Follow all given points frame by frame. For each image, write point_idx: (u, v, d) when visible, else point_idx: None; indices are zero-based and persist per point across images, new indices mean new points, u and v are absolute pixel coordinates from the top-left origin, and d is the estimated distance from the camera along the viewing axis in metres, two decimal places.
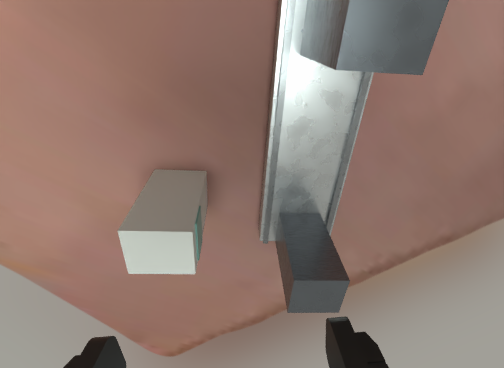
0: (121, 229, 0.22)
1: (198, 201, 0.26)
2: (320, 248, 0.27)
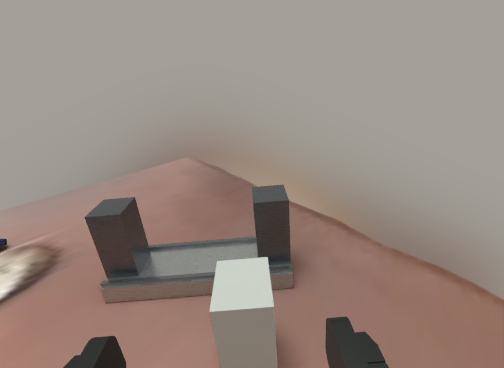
0: (210, 311, 0.21)
1: None
2: None
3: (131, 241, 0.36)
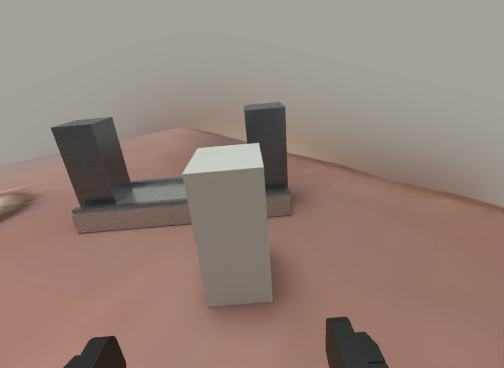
0: None
1: None
2: None
3: (106, 161, 0.32)
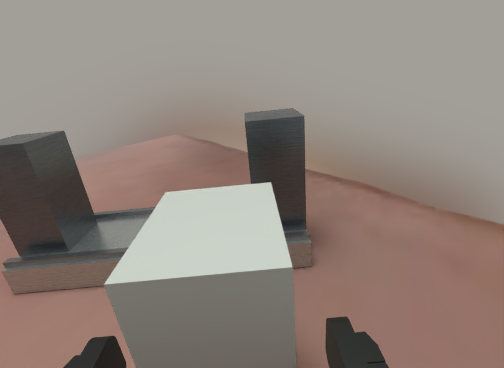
0: None
1: None
2: None
3: (51, 194, 0.23)
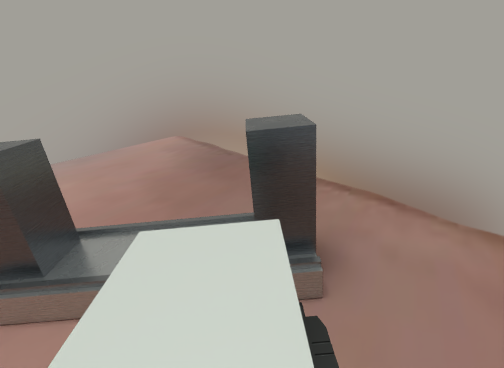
0: None
1: None
2: None
3: (22, 212, 0.20)
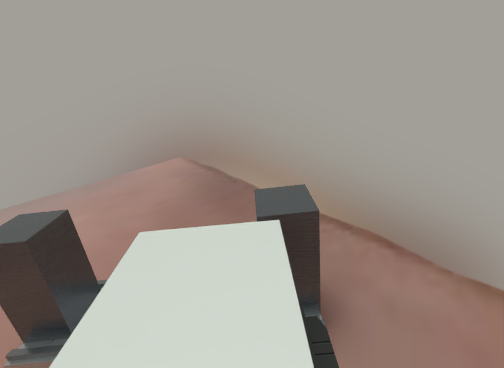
0: None
1: None
2: None
3: (55, 283, 0.22)
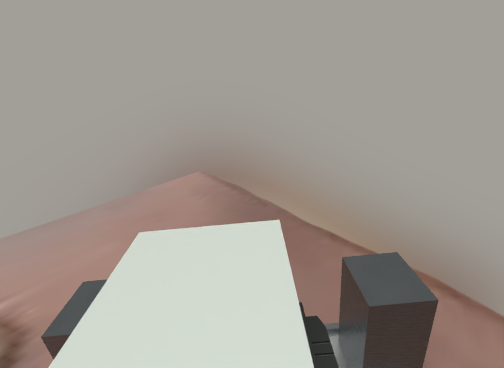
0: None
1: None
2: (347, 309, 0.22)
3: None
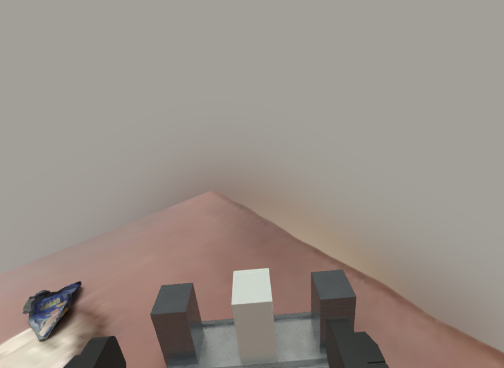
0: None
1: None
2: (313, 302, 0.38)
3: (193, 332, 0.36)
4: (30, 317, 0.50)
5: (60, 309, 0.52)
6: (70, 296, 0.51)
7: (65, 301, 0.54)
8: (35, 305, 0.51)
